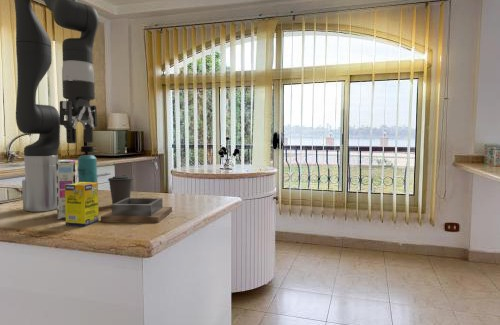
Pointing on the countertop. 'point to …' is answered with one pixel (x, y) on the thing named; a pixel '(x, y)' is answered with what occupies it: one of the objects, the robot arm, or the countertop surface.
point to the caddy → (137, 210)
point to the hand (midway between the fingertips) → (80, 142)
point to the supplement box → (81, 203)
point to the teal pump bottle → (87, 166)
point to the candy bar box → (65, 175)
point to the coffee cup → (120, 187)
